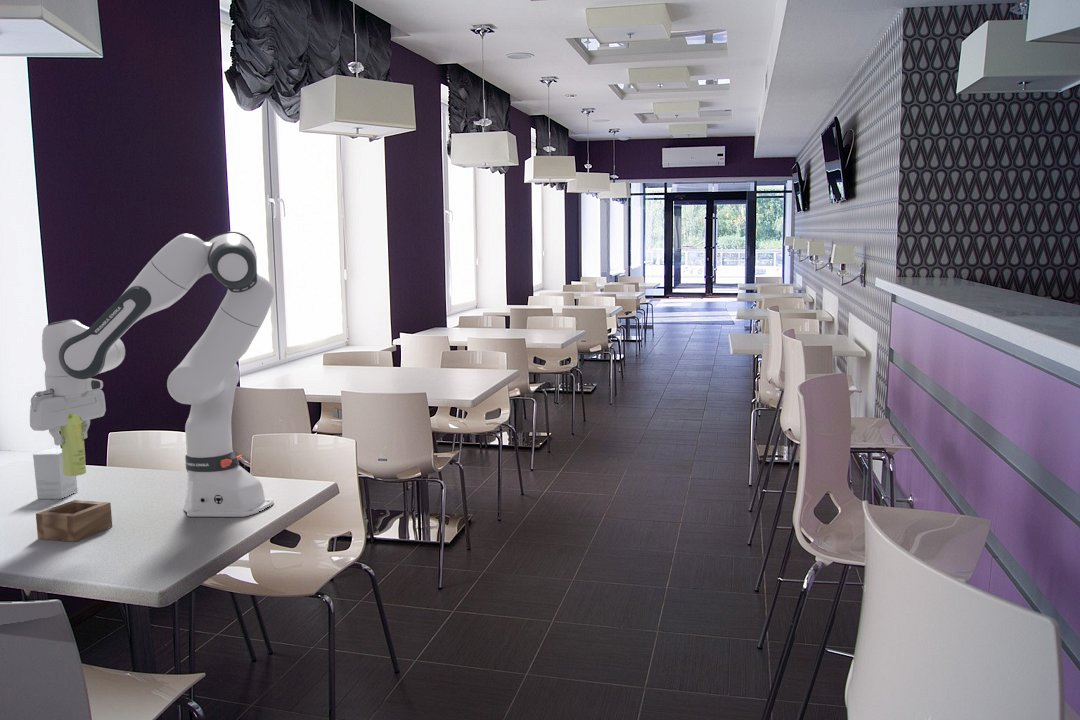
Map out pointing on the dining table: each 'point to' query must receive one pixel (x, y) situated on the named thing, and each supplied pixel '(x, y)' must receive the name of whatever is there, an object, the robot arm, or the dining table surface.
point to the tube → (73, 447)
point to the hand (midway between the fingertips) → (71, 441)
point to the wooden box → (74, 520)
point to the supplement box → (52, 475)
